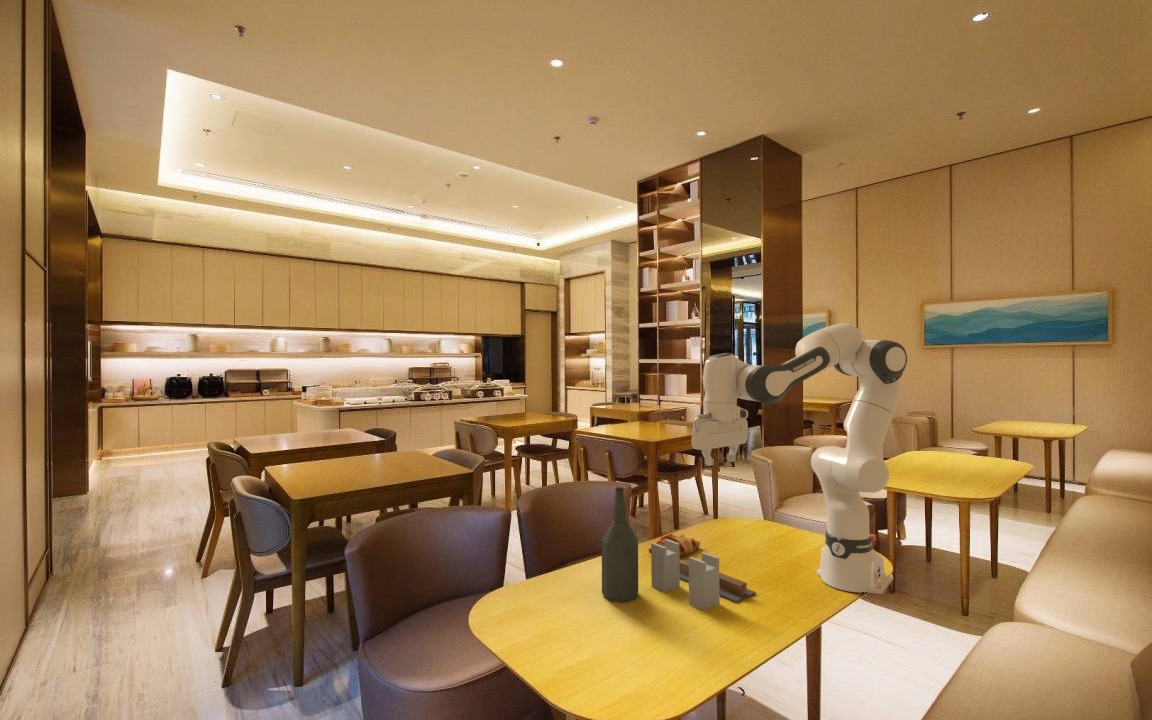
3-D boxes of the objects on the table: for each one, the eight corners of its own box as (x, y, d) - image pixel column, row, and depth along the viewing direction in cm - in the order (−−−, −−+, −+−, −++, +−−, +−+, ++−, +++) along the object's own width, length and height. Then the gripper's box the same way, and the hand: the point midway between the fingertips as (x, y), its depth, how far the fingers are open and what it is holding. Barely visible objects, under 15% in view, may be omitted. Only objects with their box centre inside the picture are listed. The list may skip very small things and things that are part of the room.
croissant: (694, 555, 185) (687, 532, 189) (711, 549, 177) (704, 525, 181) (645, 565, 175) (638, 540, 179) (661, 559, 167) (654, 534, 171)
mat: (689, 567, 165) (689, 565, 165) (755, 594, 145) (755, 592, 145) (669, 574, 159) (669, 572, 159) (736, 603, 140) (736, 601, 140)
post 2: (704, 597, 144) (704, 552, 144) (719, 604, 140) (719, 557, 140) (689, 603, 140) (688, 557, 140) (703, 610, 136) (703, 563, 136)
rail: (685, 569, 162) (685, 559, 162) (746, 593, 145) (746, 582, 145) (678, 571, 160) (678, 561, 160) (739, 596, 143) (739, 585, 143)
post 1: (666, 580, 155) (666, 538, 155) (679, 586, 151) (679, 543, 151) (651, 586, 151) (651, 543, 151) (664, 592, 147) (664, 548, 147)
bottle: (644, 599, 143) (644, 489, 143) (612, 605, 139) (612, 492, 139) (627, 584, 152) (626, 481, 153) (596, 590, 149) (595, 484, 149)
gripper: (704, 415, 134) (704, 469, 134) (751, 411, 147) (752, 460, 147) (685, 414, 139) (686, 465, 139) (732, 409, 152) (733, 457, 152)
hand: (720, 463), depth 143 cm, fingers open, 8 cm apart
